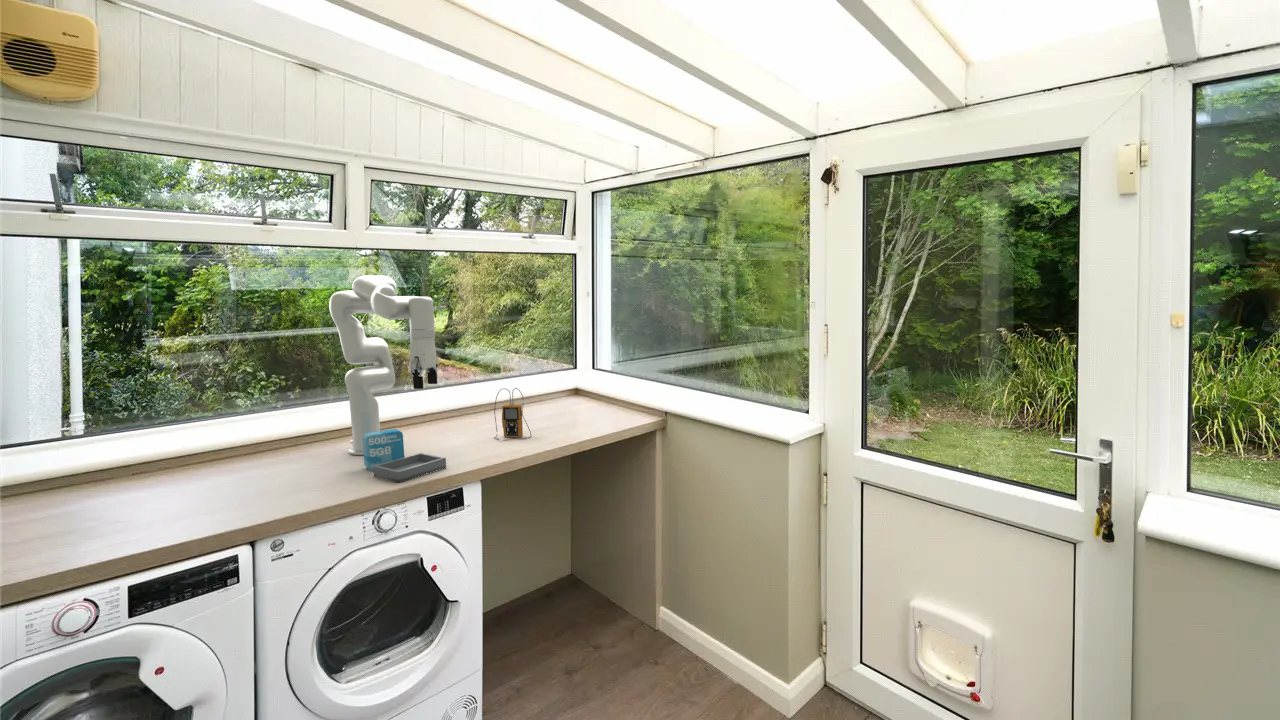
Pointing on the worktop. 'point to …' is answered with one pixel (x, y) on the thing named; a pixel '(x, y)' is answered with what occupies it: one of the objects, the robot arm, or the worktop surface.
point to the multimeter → (512, 419)
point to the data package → (382, 447)
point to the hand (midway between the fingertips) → (425, 386)
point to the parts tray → (409, 467)
